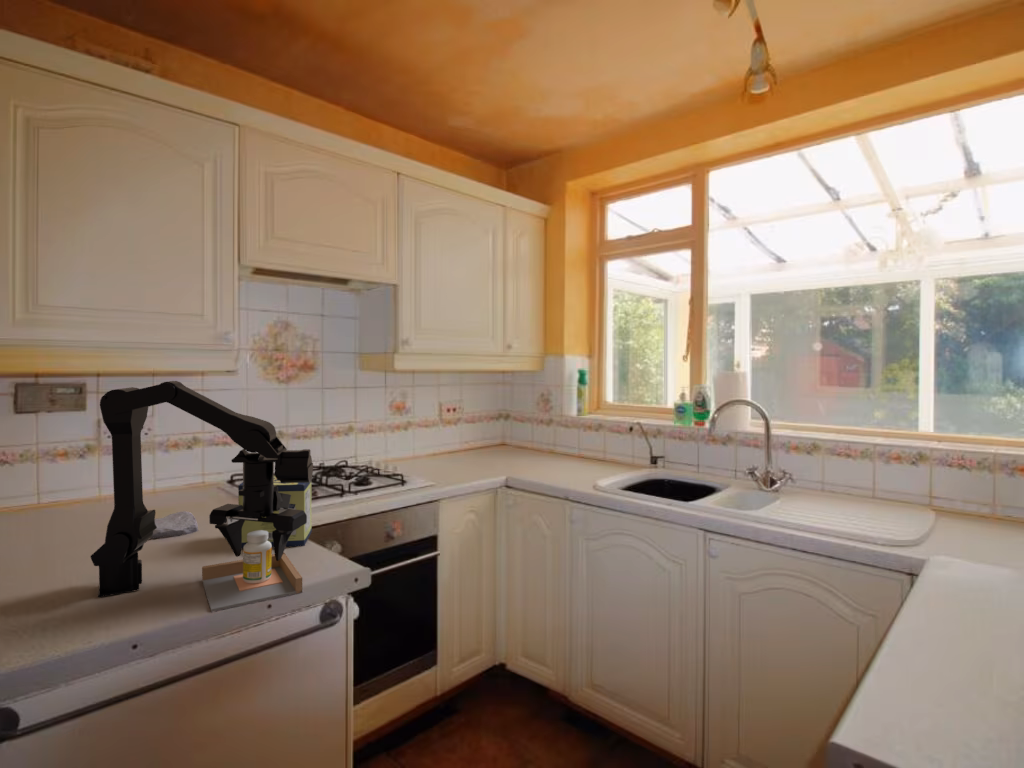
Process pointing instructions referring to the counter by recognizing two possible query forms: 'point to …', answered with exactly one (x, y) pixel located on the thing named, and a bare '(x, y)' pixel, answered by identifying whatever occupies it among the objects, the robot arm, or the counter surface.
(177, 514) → the grey rock
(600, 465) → the counter surface
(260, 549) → the supplement bottle
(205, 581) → the tray
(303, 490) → the protein box
